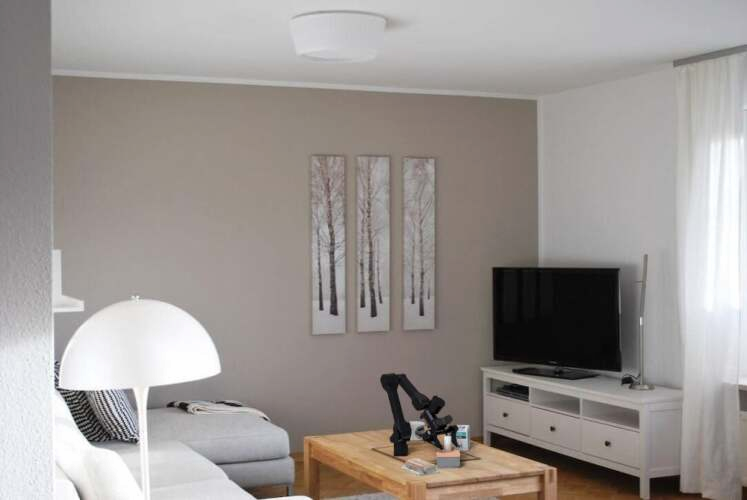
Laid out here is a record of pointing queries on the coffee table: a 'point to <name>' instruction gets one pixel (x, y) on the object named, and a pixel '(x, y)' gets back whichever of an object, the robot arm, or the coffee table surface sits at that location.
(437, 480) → the coffee table surface
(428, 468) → the packaged product
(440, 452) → the lid
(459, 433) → the light bulb box
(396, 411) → the robot arm
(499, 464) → the coffee table surface
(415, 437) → the mug
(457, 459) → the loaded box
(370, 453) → the coffee table surface
